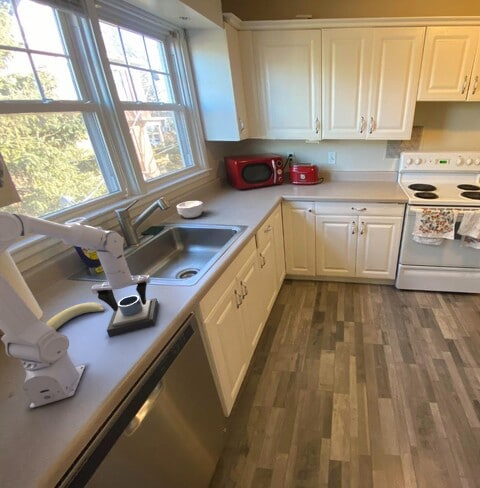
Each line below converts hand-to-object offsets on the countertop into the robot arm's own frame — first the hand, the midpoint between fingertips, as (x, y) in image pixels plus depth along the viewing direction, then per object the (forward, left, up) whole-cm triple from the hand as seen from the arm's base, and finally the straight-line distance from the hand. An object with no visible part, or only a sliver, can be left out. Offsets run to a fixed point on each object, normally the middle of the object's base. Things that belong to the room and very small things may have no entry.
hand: (130, 306), depth 88 cm
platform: (0, 0, -3) cm, 3 cm away
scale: (0, 0, -5) cm, 5 cm away
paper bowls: (+99, -17, -5) cm, 101 cm away
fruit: (+7, +18, -5) cm, 20 cm away
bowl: (0, 0, -2) cm, 2 cm away
